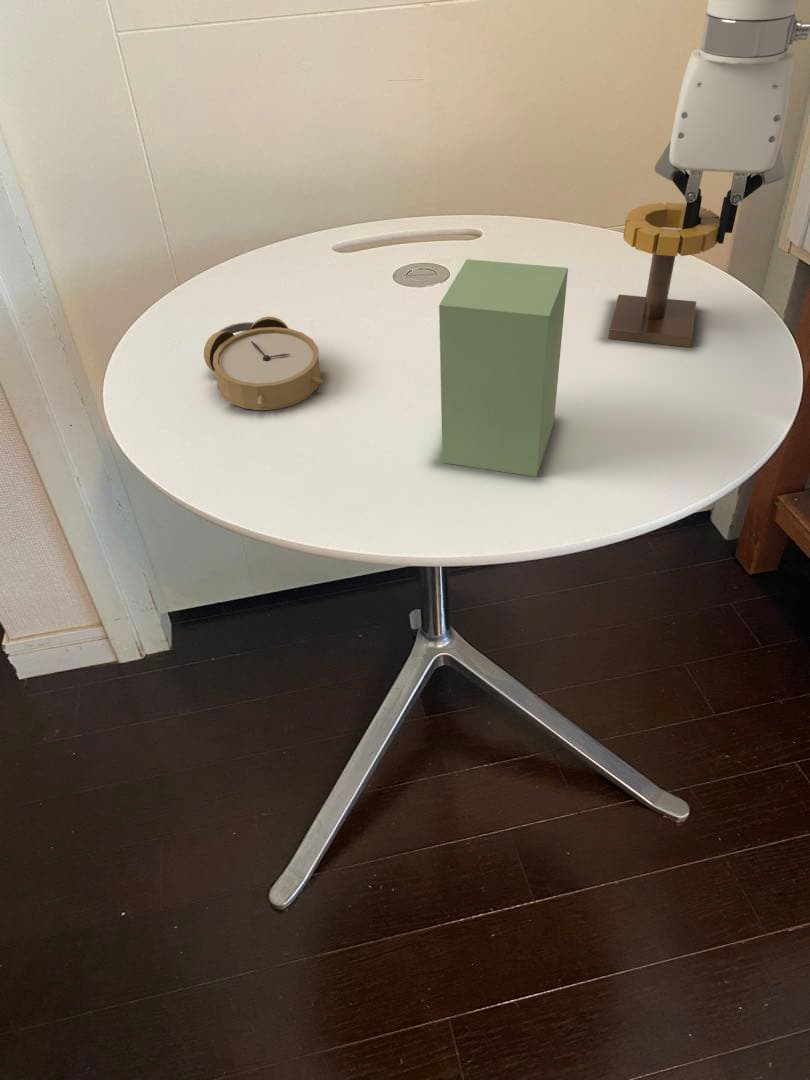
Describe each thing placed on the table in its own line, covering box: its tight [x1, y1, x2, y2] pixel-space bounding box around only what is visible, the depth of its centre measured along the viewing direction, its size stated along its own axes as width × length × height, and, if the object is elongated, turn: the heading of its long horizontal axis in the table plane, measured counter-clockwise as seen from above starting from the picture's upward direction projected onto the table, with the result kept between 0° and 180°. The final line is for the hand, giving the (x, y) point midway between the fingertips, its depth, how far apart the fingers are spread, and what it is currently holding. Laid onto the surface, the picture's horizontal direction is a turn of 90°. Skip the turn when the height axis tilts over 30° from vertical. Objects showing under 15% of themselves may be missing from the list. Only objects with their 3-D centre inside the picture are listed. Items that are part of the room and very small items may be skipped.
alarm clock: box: [203, 316, 324, 411], centre depth 88 cm, size 11×5×15 cm
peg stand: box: [607, 251, 697, 348], centre depth 90 cm, size 9×9×10 cm
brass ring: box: [622, 202, 720, 257], centre depth 86 cm, size 10×10×2 cm
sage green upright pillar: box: [438, 258, 569, 478], centre depth 73 cm, size 9×9×16 cm
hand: (705, 236), depth 86 cm, fingers closed on brass ring, 2 cm apart
